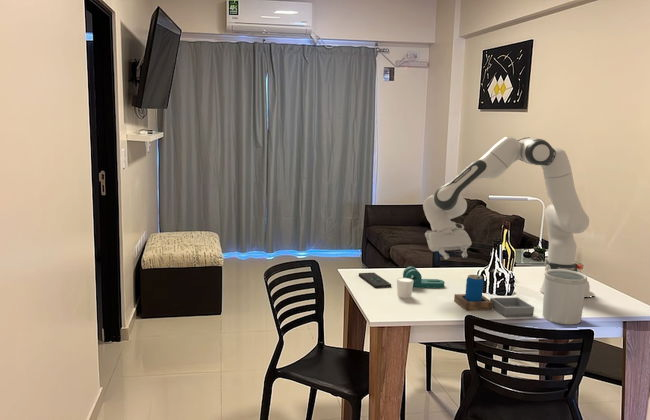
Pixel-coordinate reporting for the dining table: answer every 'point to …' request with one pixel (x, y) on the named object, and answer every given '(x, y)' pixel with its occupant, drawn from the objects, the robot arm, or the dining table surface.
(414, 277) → the bracket
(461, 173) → the robot arm
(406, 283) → the shot glass
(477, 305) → the walnut collar block
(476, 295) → the beverage can
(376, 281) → the smart home device
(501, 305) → the slate tray
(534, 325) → the dining table surface
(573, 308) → the utensil holder
